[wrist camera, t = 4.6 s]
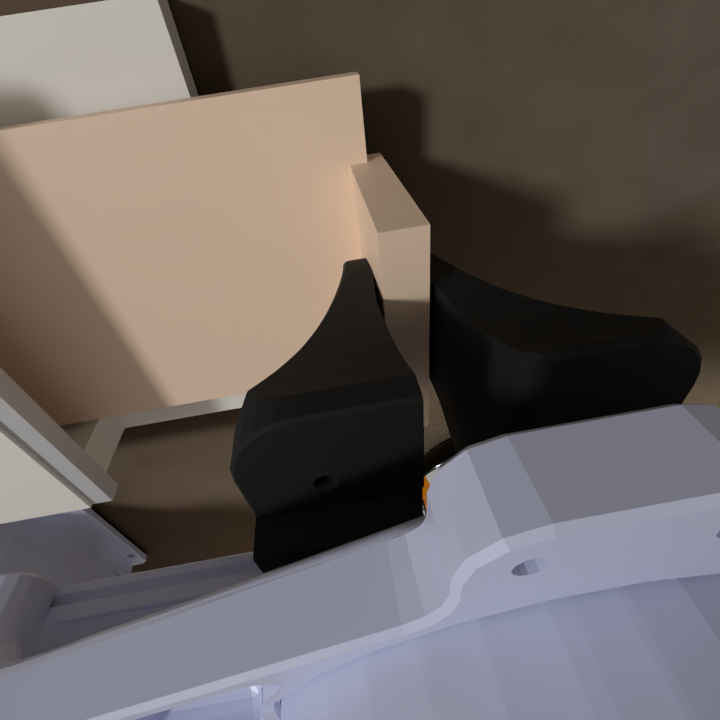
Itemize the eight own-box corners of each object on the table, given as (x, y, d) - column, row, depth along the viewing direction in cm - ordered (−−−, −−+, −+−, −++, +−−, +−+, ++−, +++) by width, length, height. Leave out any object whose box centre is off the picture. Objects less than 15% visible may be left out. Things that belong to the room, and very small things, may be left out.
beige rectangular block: (394, 354, 17) (428, 464, 12) (13, 420, 16) (-84, 556, 12) (374, 69, 10) (431, 96, 6) (-267, 169, 10) (-700, 274, 5)
